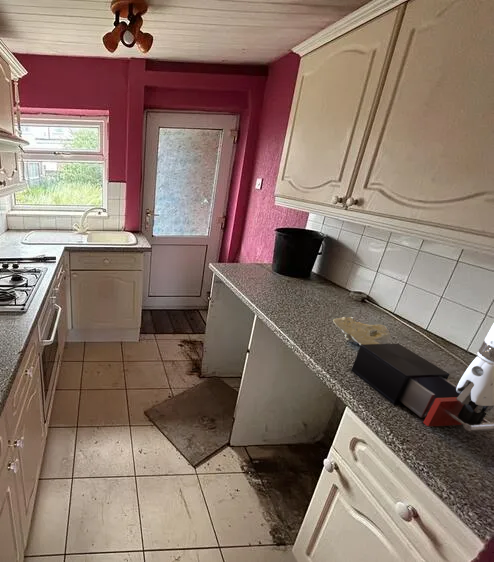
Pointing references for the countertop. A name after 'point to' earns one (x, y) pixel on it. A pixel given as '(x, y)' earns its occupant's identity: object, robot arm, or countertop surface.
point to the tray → (437, 403)
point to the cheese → (362, 331)
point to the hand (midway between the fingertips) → (467, 421)
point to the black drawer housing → (392, 368)
